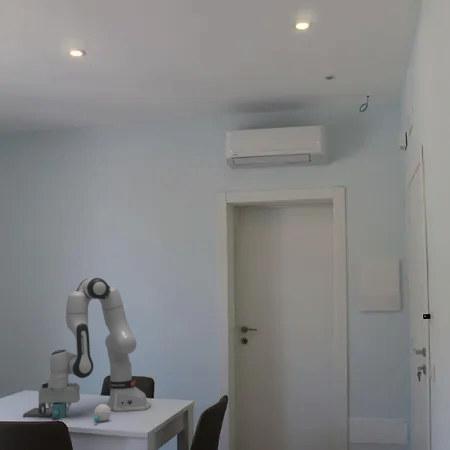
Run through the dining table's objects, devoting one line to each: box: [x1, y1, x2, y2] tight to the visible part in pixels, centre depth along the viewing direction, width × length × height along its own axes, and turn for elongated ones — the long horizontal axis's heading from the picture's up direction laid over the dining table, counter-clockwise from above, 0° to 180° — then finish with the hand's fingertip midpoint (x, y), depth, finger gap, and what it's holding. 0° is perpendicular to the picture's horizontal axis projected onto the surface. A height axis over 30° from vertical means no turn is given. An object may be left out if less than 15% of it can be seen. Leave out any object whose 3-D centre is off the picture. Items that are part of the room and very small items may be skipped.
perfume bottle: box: [93, 403, 112, 422], centre depth 280 cm, size 8×8×12 cm
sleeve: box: [51, 403, 68, 420], centre depth 291 cm, size 9×6×7 cm
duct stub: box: [22, 401, 52, 418], centre depth 301 cm, size 14×14×12 cm
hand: (59, 411), depth 292 cm, fingers closed on sleeve, 6 cm apart
